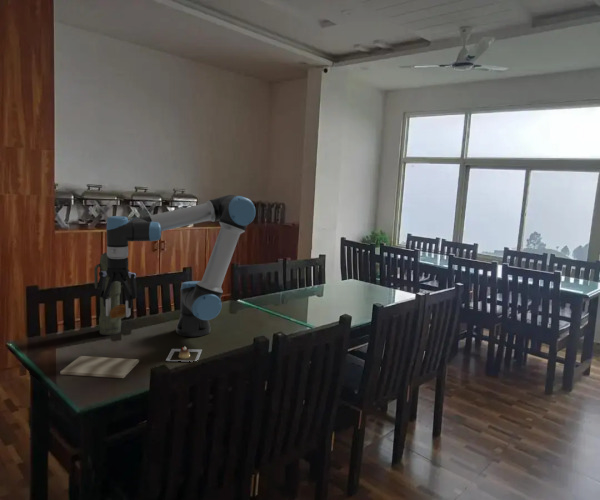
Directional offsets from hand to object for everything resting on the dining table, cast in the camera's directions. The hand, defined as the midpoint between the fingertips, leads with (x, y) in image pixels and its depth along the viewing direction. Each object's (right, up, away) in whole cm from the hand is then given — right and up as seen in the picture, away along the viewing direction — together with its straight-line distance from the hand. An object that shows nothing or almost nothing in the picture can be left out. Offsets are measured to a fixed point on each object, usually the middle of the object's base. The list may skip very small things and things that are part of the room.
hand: (118, 315), depth 177 cm
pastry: (0, -1, +1) cm, 1 cm away
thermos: (-13, -11, +24) cm, 30 cm away
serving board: (-1, -17, -12) cm, 21 cm away
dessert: (+25, -17, +2) cm, 30 cm away
